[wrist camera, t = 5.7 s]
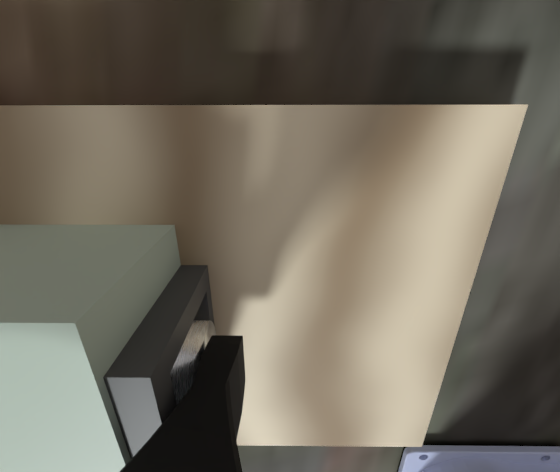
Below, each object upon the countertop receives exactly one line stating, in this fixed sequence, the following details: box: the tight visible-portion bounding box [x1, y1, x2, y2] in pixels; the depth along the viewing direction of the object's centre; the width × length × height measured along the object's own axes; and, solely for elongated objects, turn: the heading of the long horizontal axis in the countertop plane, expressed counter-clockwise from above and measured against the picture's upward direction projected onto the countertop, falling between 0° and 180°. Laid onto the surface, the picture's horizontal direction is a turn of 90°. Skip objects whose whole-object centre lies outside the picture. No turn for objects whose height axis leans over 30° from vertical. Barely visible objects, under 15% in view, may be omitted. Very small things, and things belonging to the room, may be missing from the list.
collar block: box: [0, 224, 215, 472], centre depth 9 cm, size 9×8×5 cm
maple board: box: [0, 105, 528, 447], centre depth 12 cm, size 22×16×2 cm
